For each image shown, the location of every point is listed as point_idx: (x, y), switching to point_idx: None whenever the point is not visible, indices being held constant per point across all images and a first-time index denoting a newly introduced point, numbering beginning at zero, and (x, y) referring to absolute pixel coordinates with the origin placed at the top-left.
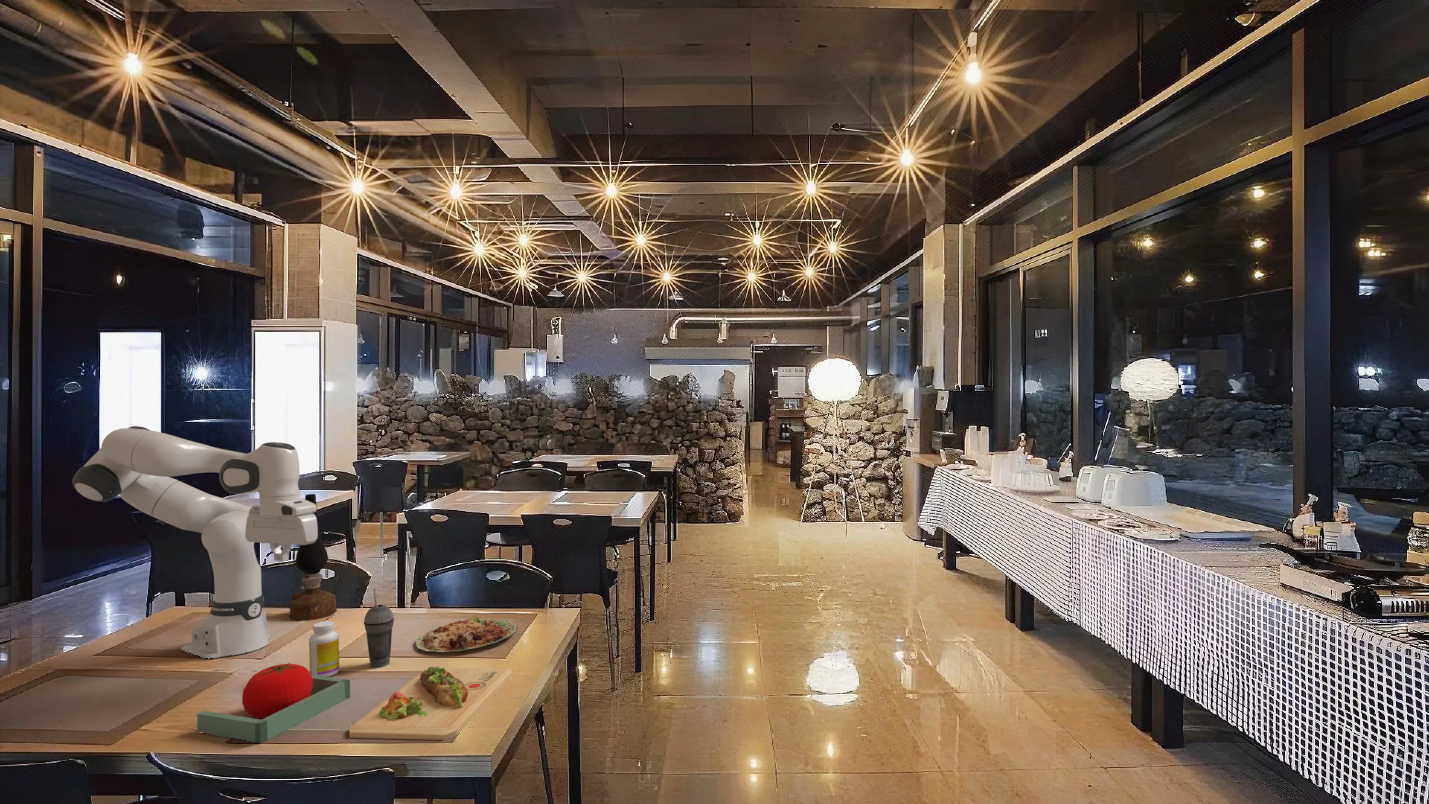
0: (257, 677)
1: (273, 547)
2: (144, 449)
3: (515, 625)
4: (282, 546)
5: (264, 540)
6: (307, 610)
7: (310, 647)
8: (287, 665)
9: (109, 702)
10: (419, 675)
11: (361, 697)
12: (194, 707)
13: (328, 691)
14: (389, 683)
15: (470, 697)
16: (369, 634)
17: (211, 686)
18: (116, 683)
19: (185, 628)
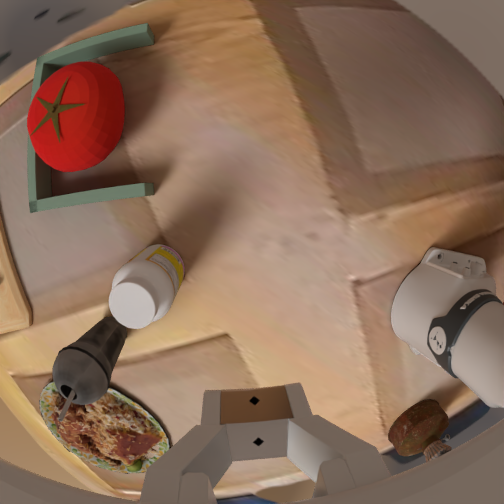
0: (72, 74)
1: (338, 461)
2: None
3: (75, 454)
4: (184, 484)
5: (456, 469)
6: (414, 419)
7: (150, 258)
8: (56, 128)
9: (402, 76)
10: (10, 290)
11: (33, 216)
12: (253, 82)
13: (28, 167)
14: (39, 271)
15: None
16: (85, 340)
17: (319, 155)
18: (458, 137)
19: None
